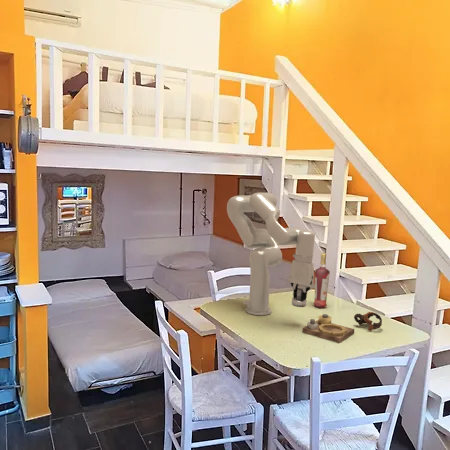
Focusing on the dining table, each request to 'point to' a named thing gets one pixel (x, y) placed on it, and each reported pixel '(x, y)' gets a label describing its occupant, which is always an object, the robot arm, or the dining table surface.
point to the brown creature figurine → (366, 320)
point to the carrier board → (327, 329)
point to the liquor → (321, 283)
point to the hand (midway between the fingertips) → (299, 298)
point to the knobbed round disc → (299, 299)
